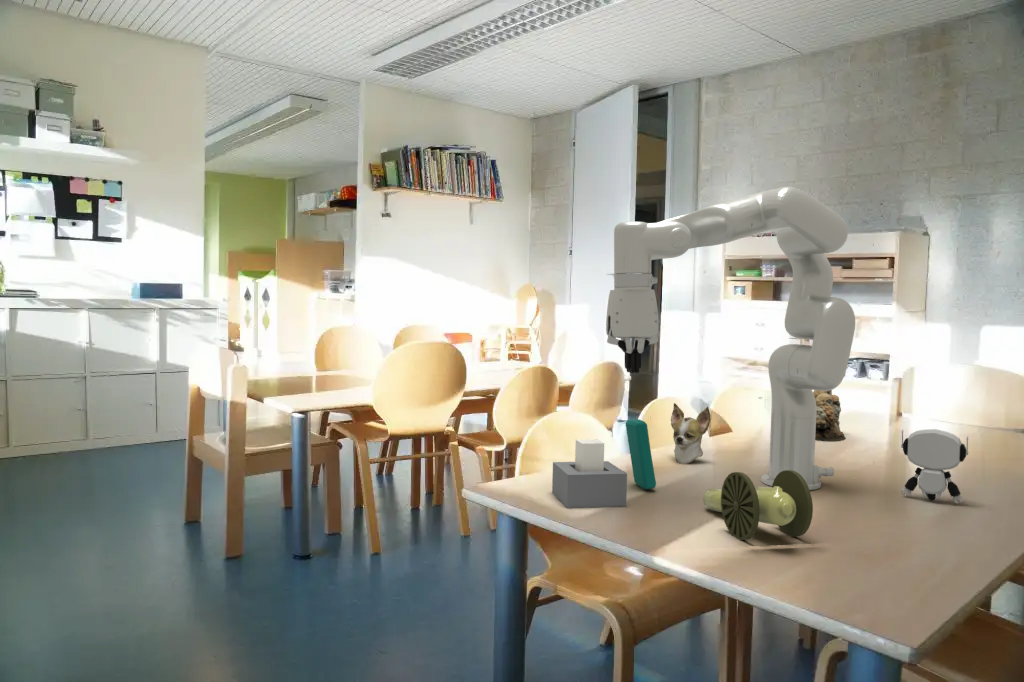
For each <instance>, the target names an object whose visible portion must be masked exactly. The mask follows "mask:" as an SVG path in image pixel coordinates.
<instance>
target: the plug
mask: <svg viewBox="0 0 1024 682" xmlns="http://www.w3.org/2000/svg"><path fill="white" fill-rule="evenodd" d="M574 456H575V457H574V462H575V470H576V471H578V472H580V471H604V461H605V442H602V441H601V440H599V439H598V438H596V439H592V438H591V439H589V438H588V439H585V438H583V439H575V454H574Z"/></svg>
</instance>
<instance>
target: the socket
mask: <svg viewBox="0 0 1024 682" xmlns="http://www.w3.org/2000/svg"><path fill="white" fill-rule="evenodd" d="M551 480H552V484H551V485H552V486H551V488H552V489H551V493H552V495H554V496H555V498H557V500H559V502H560V503H561V504H562V505H564V506H565V508H566V509H577V508H578V509H581V508H582V509H584V508H588V509H589V508H615V507H617V508H618V507H619V508H620V507H622V508H623V507H627V494H628V493H627V492H628V491H627V490H628V473H627V472H625V470H622V469H621V468H619V467H618V466H616V465H615V464H613V463H611V462H610V461H608V460H604V471H580V472H578V471H576V470H575V461H553V462H552V479H551Z"/></svg>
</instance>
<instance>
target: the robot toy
mask: <svg viewBox="0 0 1024 682" xmlns="http://www.w3.org/2000/svg"><path fill="white" fill-rule="evenodd" d="M900 448H901V449H902V451H903V453H904V455H905V456H907V459H908V461H909V462H911V464H913V465H915V466H917V468H916V469H915V470H914V473H915V474H914V475H913V476H912V477H910V478H908V480H907V482H906V483H905V484H904V488H902V490H901V493H902V494H903V495H905V496H906V497H910V496H911V495H912V493H913V492H914V491H915V489H916V488H917V486H918V488H919V489H920V490H921V494H922V496H924V497H925V498H927V500H929V501H932V502H933V501H935V500H936V499H939V498H940V497H941V495H942V494H943V493H944V492H945V490H946V488H947V491H948V493H949V495H950V497H952V501H953V502H954V503H955V504H959V503H960V504H961V503H963V501H964V498H963V497H962V496H961V492H960V488H959V487H958V485H957V484H956V483H955V482H953V481H952V479H951V477H952V475H951V474H952V473H951V472H950V471H948V470H952V469H954V468H957V467H958V466H959V465H960V463H961V462H962V463H963V462H964V460H965V459H966V457H967V456H969V451H968V450H969V436H968V435H967V436H966V445H965V443H963V442H962V440H961V439H960V437H958V436H957V435H956V434H954V433H952V432H949V431H945V430H941V429H937V428H933V429H931V428H930V429H919V430H915V431H914V432H912V433H910V435H909V436H908V437H906V438H905V439H904V429H902V430H901V447H900ZM946 470H947V471H946ZM958 500H959V501H958Z"/></svg>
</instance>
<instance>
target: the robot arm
mask: <svg viewBox="0 0 1024 682" xmlns="http://www.w3.org/2000/svg"><path fill="white" fill-rule="evenodd" d="M776 229H777V231H776V240H777V244H778V247H779V249H780V250H781V251H782V252H783V253H784V255H785V256H786V258H787V260H788V262H789V264H790V266H791V268H792V282H791V288H790V293H789V298H788V302H787V306H786V310H785V311H786V312H785V316H784V317H785V318H784V329H785V331H786V332H787V334H789V335H790V336H791V337H792V338H795V339H802V340H808V341H812V343H811V344H812V345H809V344H797V343H795V344H793V343H792V344H791V343H790V344H784V345H781V346H779V347H778V348H776V349H774V351H773V352H772V353H771V355H770V357H769V360H768V365H767V366H768V367H767V368H768V376H769V383H770V389H771V411H770V412H771V413H770V433H769V434H770V437H769V439H770V440H769V460H768V461H769V467H768V469H769V470H768V473H765V474H763V475H761V482H762V483H763V485H764V484H765V485H767V486H768V487H772V484H773V482H774V479H775V478H776V476H777V475H778V474H779V473H780V472H782V471H785V470H792V471H796V472H797V473H799V474H800V475H801V476H802V477H803V478H804V480H805V481H806V483H807V485H808V487H809V490H810V491H812V490H813V491H814V490H819V489H820V488H821V487H822V481H821V480H820V478H822V477H833V476H834V475H835V471H834V468H833V467H823V468H822V467H821V466H819V465H816V464H815V454H816V452H815V451H816V440H815V433H816V412H817V410H816V401H815V397H814V394H813V392H814V390H818V391H829V390H835V389H836V388H837V387H839V386H840V384H841V383H842V382H843V379H844V377H845V376H846V373H847V370H848V365H849V360H850V355H851V349H852V345H853V341H854V337H855V330H856V314H855V312H854V309H853V307H852V305H850V303H849V302H848V301H846V300H845V299H843V298H841V297H835V296H832V290H833V282H834V272H833V271H834V270H833V268H832V266H831V263H830V261H829V259H828V257H827V256H826V254H830V253H834V252H837V251H838V250H840V249H841V248H842V247H843V246H844V245H845V243H846V242H847V239H848V234H849V231H848V227H847V223H846V221H845V220H844V219H843V217H842V216H840V214H838V212H836V211H835V210H832V208H830V207H829V206H827V205H826V204H824V203H823V202H821V201H820V200H818V198H815V197H813V196H812V195H811V194H809V193H807V192H806V191H803V190H802V189H799V188H797V187H794V186H788V185H787V186H783V187H777V188H773V189H769V190H763V191H759V192H756V193H752V194H748V195H745V196H741V197H738V198H734V199H731V200H728V201H724V202H723V201H722V202H720V203H716V204H713V205H710V206H709V205H708V206H706V207H704V208H701V209H698V210H694V211H692V212H688V213H685V214H682V215H678V216H674V217H671V218H667V219H664V220H661V221H657V222H645V221H624V222H623V221H622V222H619V223H617V224H616V225H615V226H614V229H613V274H614V275H613V280H614V281H613V287H614V288H613V289H610V290H609V294H608V300H607V306H606V307H607V308H606V321H605V333H606V335H607V338H606V342H607V344H610V345H614V346H617V347H619V348H620V349H621V351H622V352H623V353H624V368H625V369H626V373H630V374H634V373H636V374H639V373H640V369H642V368H641V367H642V353H643V352H644V351H645V349H646V348H647V347H648V346H649V345H654V344H657V343H658V342H659V337H658V335H659V331H660V330H659V329H660V328H659V325H660V324H659V310H658V303H657V298H656V291H655V289H652V287H653V285H655V284H658V277H657V276H655V277H654V276H653V273H652V261H654V260H663V259H664V260H665V259H666V260H667V259H675V258H678V257H681V256H683V255H684V254H685V253H687V252H688V251H689V250H690V249H694V248H701V247H702V248H703V247H704V248H705V247H713V246H718V245H723V244H727V243H731V242H734V241H737V240H740V239H744V238H747V237H750V236H753V235H756V234H760V233H763V232H767V231H770V230H776ZM632 339H634V341H633V344H632ZM632 345H633V346H632Z"/></svg>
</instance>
